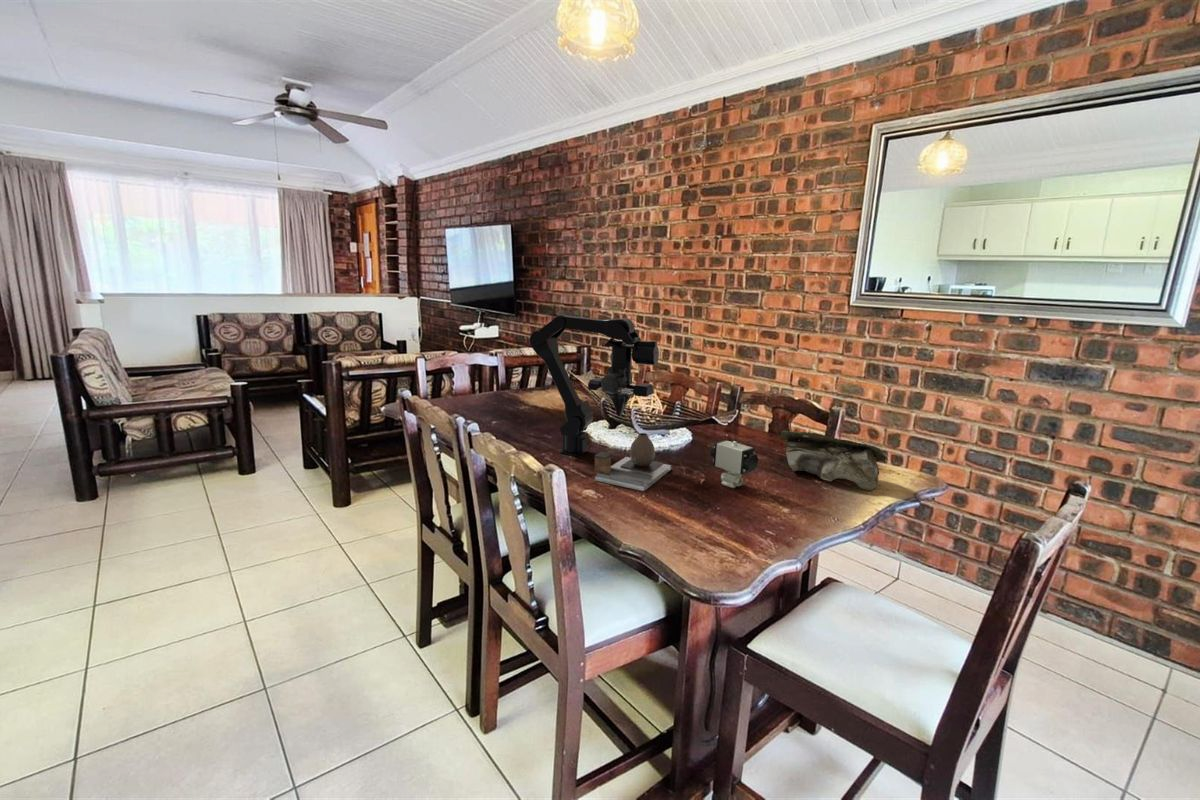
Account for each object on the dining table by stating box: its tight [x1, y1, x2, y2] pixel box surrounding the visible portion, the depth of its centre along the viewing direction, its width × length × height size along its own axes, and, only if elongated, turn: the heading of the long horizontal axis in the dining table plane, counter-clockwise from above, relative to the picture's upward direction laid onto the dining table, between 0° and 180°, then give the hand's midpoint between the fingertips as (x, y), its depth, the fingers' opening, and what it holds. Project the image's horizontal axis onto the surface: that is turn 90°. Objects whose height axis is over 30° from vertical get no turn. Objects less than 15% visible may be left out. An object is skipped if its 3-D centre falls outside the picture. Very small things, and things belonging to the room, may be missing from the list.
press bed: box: [594, 456, 672, 492], centre depth 147 cm, size 14×19×2 cm
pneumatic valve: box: [709, 439, 759, 489], centre depth 140 cm, size 6×12×12 cm, turn 42°
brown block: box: [594, 451, 613, 475], centre depth 143 cm, size 3×4×5 cm
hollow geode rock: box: [780, 430, 889, 491], centre depth 147 cm, size 28×13×15 cm
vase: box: [629, 432, 656, 467], centre depth 150 cm, size 7×7×9 cm
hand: (619, 415), depth 157 cm, fingers closed
